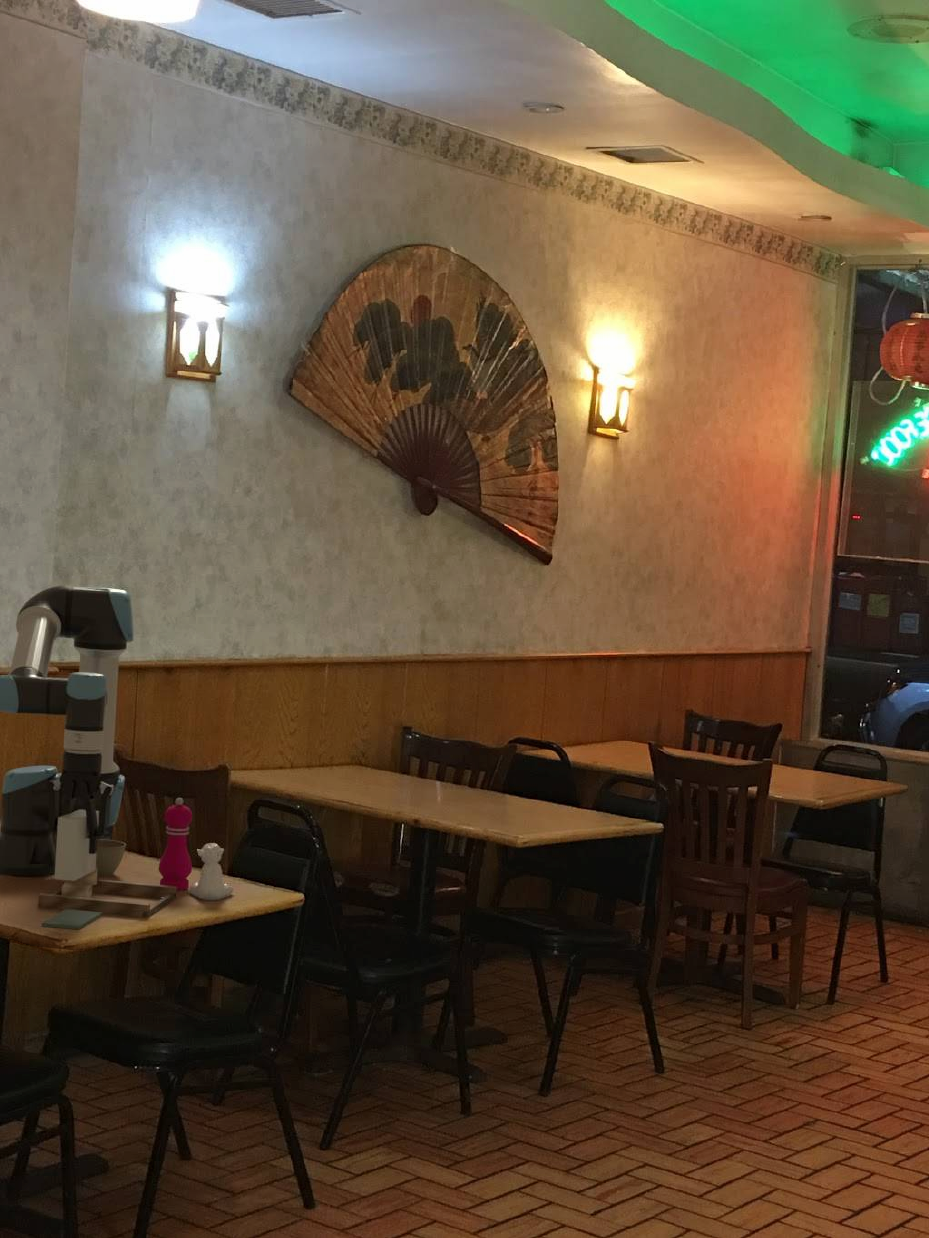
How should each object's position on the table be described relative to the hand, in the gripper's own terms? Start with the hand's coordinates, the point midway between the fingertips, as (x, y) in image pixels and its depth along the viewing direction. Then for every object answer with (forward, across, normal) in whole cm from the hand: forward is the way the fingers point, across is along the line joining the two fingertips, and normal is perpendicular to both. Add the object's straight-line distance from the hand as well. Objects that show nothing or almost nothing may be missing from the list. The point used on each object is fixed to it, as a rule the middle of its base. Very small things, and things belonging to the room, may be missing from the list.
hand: (75, 868), depth 327 cm
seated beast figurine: (+10, +19, +33) cm, 39 cm away
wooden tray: (+10, +1, +19) cm, 22 cm away
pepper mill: (+10, +9, +39) cm, 41 cm away
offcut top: (+7, -6, +19) cm, 21 cm away
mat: (+10, 0, 0) cm, 10 cm away
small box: (+10, -24, +70) cm, 74 cm away
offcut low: (+11, -6, +19) cm, 22 cm away
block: (+1, 0, 0) cm, 1 cm away
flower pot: (+10, -10, +46) cm, 48 cm away
